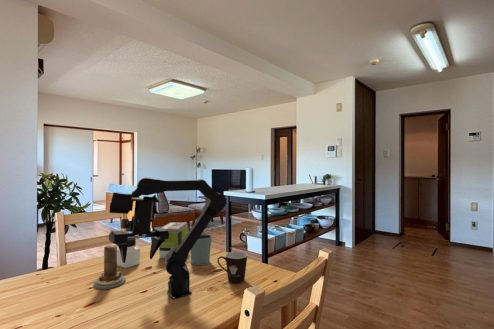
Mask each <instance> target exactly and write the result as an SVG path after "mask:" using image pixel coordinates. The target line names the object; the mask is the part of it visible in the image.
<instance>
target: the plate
mask: <svg viewBox="0 0 494 329" xmlns="http://www.w3.org/2000/svg"><path fill="white" fill-rule="evenodd" d="M126 279H127V278H126V276H124V275H123V280H122V281H121V282H119V283H117V284H114V285H109V286H100V285H97V279H96V280H95V281H94V282H93V288H95V289H97V290H109V289H115V288H118V287H120V286H122V285H124V284H125V283H126V281H127V280H126Z"/></svg>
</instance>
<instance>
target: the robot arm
mask: <svg viewBox="0 0 494 329" xmlns="http://www.w3.org/2000/svg"><path fill="white" fill-rule="evenodd" d="M178 191H179V192H182V191H188V192H189V191H199V192H200V193H201V194H202V196H204V197H205V198H206V201H205V203H204V206H203V209H202V212H201V213H200V215H199V216H198V217H197V219H196V220H195V222H194V223H193V225H192V226H191V227H190V229H189V231H188V234H187V235H186V236H185V238H184V239H183V241H182V242H181V244H180V245H179V246H177V247H176V248H174V247H173V246H172V247H171V249H170V251H169V253H168V254H166V258H164V263H165V271H166V272H167V274H169V278H168V279H169V280H168V281H167V282H168V283H167V291H166V293H167V294H168V295H169V296H171V297H172V298H173V299H179V298H182V297H184V296H188V295H191V294H192V293H193V291H191V290H190V289H191V288H190V285H191V284H190V282H191V280H190V277H191V276H190V275H191V274H190V271H189V268H188V265H187V264H186V262H187V259H188V257H189V253H191V249H192V247H193V246H194V244H195V243H196V241H197V240H198V238H199V237H200V236H201V234H204V231H205V230H206V228H207V227H208V225H209V224H210V223H211V221H212V219H213V218H215V217H216V216H217V215H219V213H220V212H222V211H223V210H224V208H225V207H226V205H227V203H228V202H227V198H226V196H225V195H224V194H222V193H219V192H217V191H216V190H215V189H214V188H213V187H211V186H210V185H209V184H208V183H207V181H206V180H205V179H201V178H200V179H183V180H182V179H181V180H180V179H172V180H171V179H169V180H168V179H166V180H164V179H161V178H160V179H159V178H152V177H143V178H141V179H140V180H139V181H138V182H137V185H136V188H135V189H134V190H132V192H131V193H121V192H115V191H114V192H113V193H112V196H111V201H110V203H109V213H110V214H121V215H128V214H129V213H130V212H133V215H132V216H131V220H129V218H122V219H121V222H120V228H121V229H125V231H124V230H112V231H110V232H109V234H108V241H109V242H111V243H112V245H116V246H117V248H118V249H119V250H120V254H121V258H122V262H123V263H125V261H126V255H127V247H128V244H127V243H126V241H127V240H128V239H145V238H150V239H151V241H150V242H151V244H150V249H149V250H150V252H149V259H150V260H152V259H153V258H154V256H155V254H156V253H157V252H158V250H159V247H160V245H161V244H162V243H163V242H165V239H169V231H168V230H166V229H164V228H162V227H156V228H152V230H151V225H152V223H153V222H154V218H152V217H153V208H154V203H156V204H157V203H160V199H159V198H158V197H157V196H156V194H159V193H164V192H178ZM151 195H152V196H151ZM141 196H143V197H142V198H140V197H141ZM134 202H135V205H134ZM133 207H134V208H133ZM133 209H134V211H133Z"/></svg>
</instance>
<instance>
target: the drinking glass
mask: <svg viewBox="0 0 494 329" xmlns="http://www.w3.org/2000/svg"><path fill="white" fill-rule="evenodd" d="M212 239H213V236H212V235H211V234H208V233H202V234H201V236H200V237H199V238H198V240H197V241H196V243H195V244H194V246H193V247H192V249H191V250H190V263H191V264H192V265H195V266H203V265H207V264H209V263H210V259H211V255H210V254H211V249H212V247H211V246H212Z"/></svg>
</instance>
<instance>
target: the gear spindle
mask: <svg viewBox="0 0 494 329" xmlns="http://www.w3.org/2000/svg"><path fill="white" fill-rule="evenodd" d="M117 249H118V246H117V245H116V244H112V245H105V246H104V248H103V252H104V253H103V272H102V273H101V274H100V276H99V277H98V278H99V281H106V282H110V281H114V280H118V279H120V276H121V275H122V271H118V265H117Z"/></svg>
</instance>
